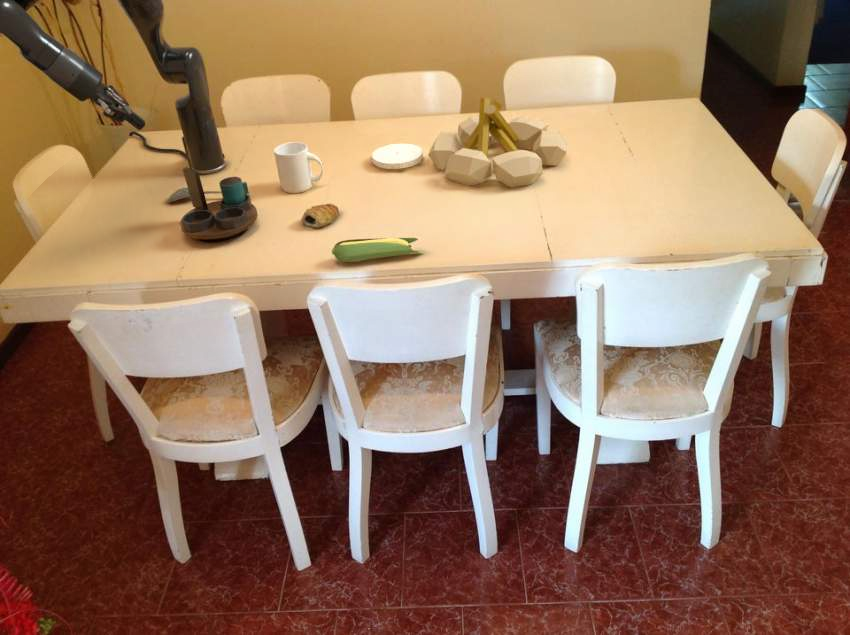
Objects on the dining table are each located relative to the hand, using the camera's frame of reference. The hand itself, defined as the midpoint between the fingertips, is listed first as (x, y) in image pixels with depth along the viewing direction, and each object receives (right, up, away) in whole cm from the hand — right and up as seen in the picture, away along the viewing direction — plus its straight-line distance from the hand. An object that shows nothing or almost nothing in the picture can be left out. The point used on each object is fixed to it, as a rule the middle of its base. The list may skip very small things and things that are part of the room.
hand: (142, 126), depth 165 cm
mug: (+32, -9, +28) cm, 43 cm away
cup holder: (+14, -20, +10) cm, 26 cm away
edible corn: (+54, -30, -5) cm, 62 cm away
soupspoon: (+7, +19, +1) cm, 20 cm away
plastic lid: (+56, 0, +37) cm, 67 cm away
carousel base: (+15, -22, +11) cm, 29 cm away
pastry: (+39, -20, +11) cm, 45 cm away
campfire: (+83, -2, +32) cm, 89 cm away
